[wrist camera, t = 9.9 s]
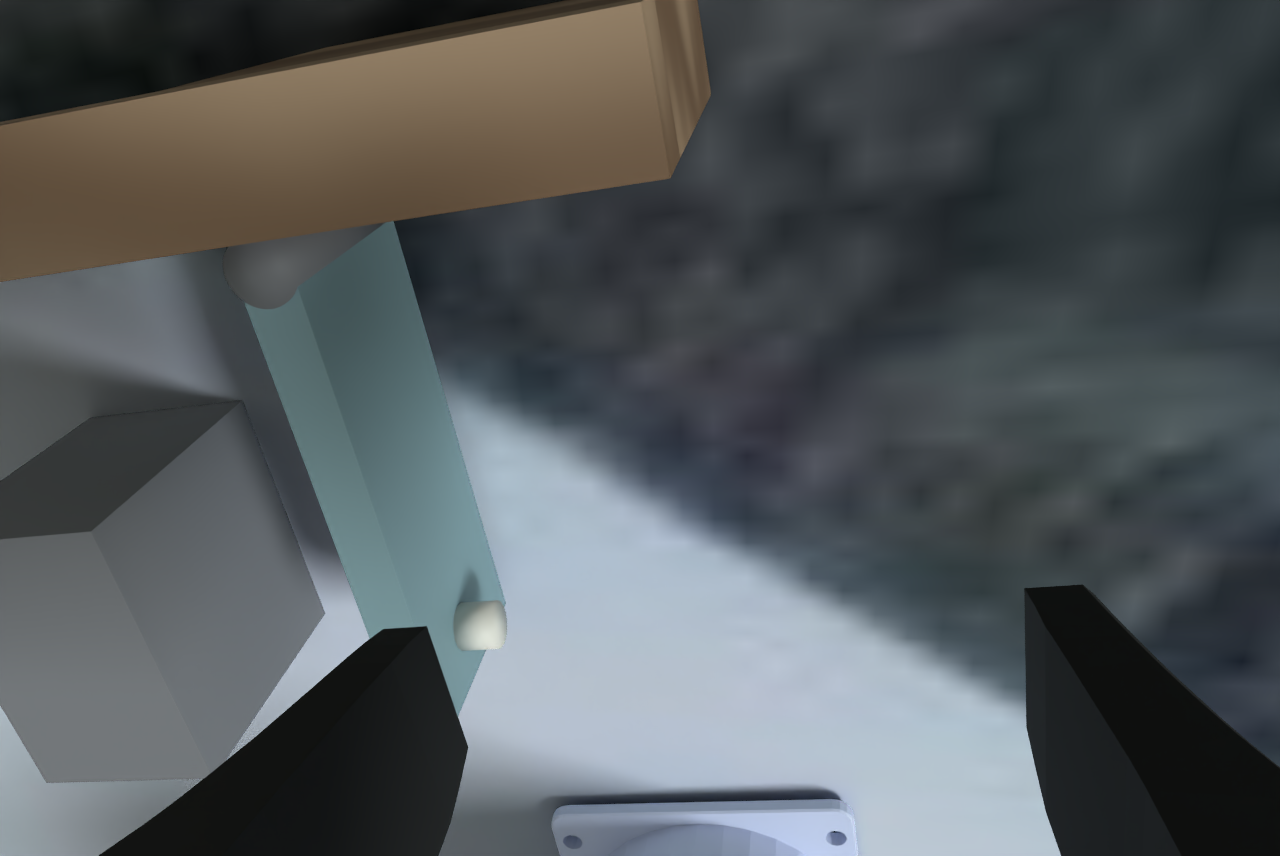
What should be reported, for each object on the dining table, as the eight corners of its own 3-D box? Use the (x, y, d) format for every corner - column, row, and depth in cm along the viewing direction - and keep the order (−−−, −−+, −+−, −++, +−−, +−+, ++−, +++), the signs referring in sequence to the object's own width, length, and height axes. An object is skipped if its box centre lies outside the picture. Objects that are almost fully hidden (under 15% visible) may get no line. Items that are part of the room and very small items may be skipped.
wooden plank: (711, 94, 18) (670, 178, 12) (-247, 258, 22) (-622, 377, 16) (693, -25, 17) (640, 2, 11) (-298, 170, 21) (-713, 263, 16)
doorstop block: (326, 612, 25) (213, 778, 20) (187, 620, 26) (46, 782, 21) (243, 399, 22) (91, 531, 17) (92, 416, 23) (-94, 547, 18)
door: (328, 178, 19) (211, 242, 15) (418, 163, 19) (322, 224, 15) (463, 603, 24) (399, 737, 20) (539, 598, 23) (488, 733, 19)
